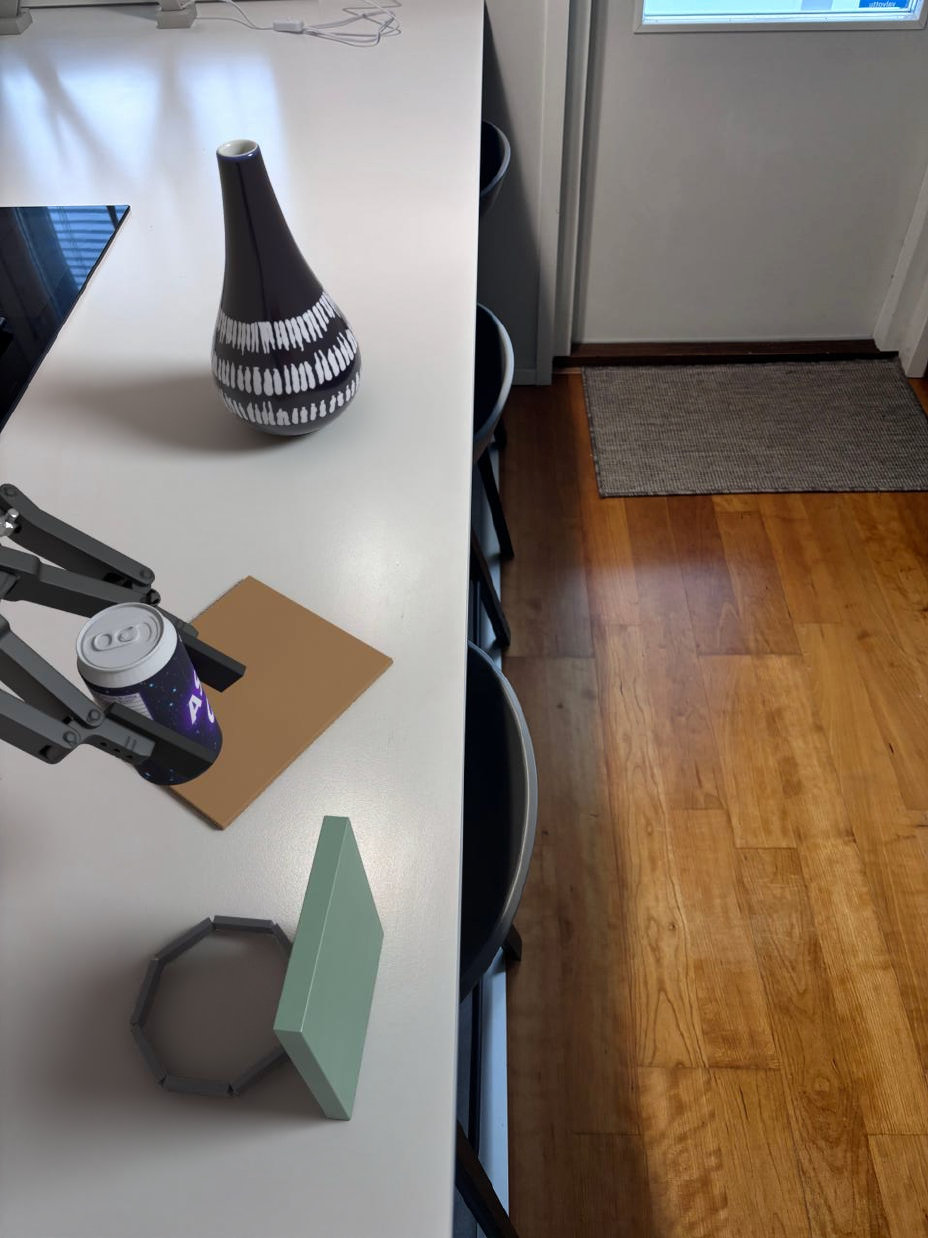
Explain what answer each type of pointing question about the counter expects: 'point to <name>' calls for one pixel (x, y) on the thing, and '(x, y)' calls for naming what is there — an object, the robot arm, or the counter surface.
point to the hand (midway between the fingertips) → (218, 721)
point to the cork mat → (273, 691)
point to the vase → (275, 314)
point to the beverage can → (146, 677)
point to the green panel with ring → (302, 980)
